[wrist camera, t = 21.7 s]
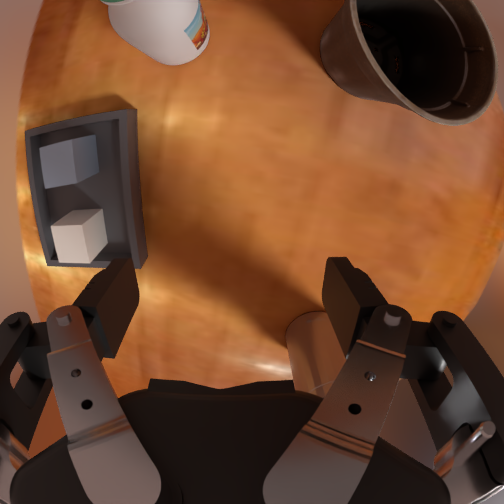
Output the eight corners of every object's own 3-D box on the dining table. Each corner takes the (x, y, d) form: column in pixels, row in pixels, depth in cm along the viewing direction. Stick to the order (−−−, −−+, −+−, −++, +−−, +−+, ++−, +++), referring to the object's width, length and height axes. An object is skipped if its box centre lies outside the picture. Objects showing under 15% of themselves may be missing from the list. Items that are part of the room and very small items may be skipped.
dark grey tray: (147, 256, 39) (140, 268, 36) (58, 255, 38) (47, 266, 35) (137, 109, 30) (126, 109, 27) (39, 128, 29) (24, 130, 26)
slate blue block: (99, 172, 32) (77, 183, 27) (69, 177, 32) (45, 188, 27) (95, 134, 30) (71, 139, 25) (64, 141, 30) (39, 147, 24)
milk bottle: (188, 75, 29) (129, 29, 11) (136, 54, 27) (43, 9, 9) (222, 25, 26) (206, -63, 8) (169, 5, 24) (110, -76, 6)
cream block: (102, 208, 34) (82, 224, 29) (107, 243, 36) (89, 263, 31) (72, 210, 34) (50, 226, 29) (78, 243, 36) (59, 262, 31)
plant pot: (420, 120, 32) (504, 134, 17) (310, 117, 32) (365, 119, 17) (406, 15, 24) (480, -13, 10) (294, 0, 24) (331, -63, 10)
